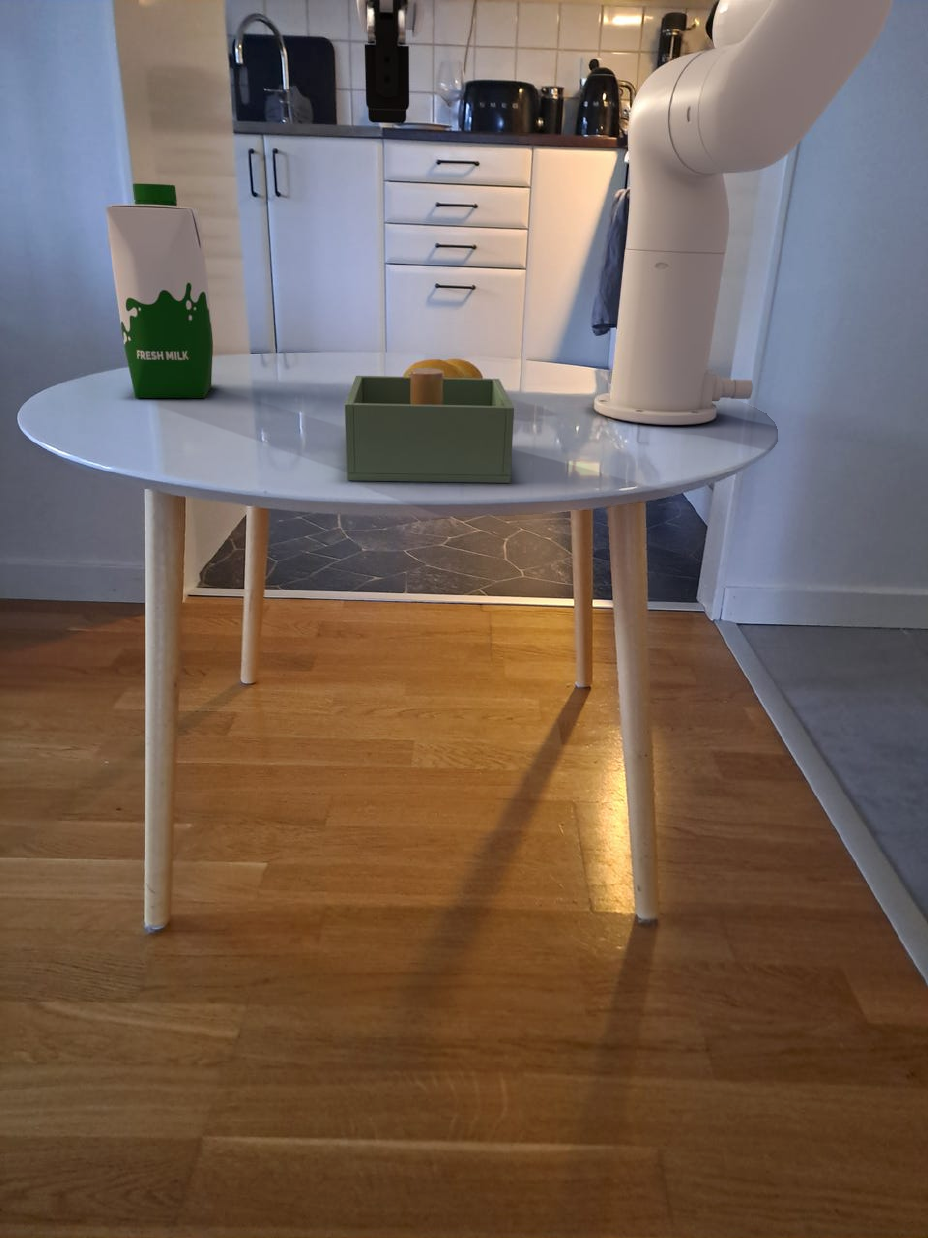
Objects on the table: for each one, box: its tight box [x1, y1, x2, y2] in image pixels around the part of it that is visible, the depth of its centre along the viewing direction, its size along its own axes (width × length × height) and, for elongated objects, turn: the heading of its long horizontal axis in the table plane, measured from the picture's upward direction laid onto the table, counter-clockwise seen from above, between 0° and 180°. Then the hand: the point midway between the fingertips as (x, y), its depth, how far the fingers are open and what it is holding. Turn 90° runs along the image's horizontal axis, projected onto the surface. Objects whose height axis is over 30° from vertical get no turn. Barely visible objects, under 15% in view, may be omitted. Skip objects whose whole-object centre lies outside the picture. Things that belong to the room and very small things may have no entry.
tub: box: [344, 375, 515, 484], centre depth 67 cm, size 12×12×6 cm
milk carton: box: [105, 182, 214, 399], centre depth 86 cm, size 9×9×20 cm
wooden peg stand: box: [410, 368, 444, 405], centre depth 66 cm, size 8×8×6 cm
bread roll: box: [402, 358, 484, 379], centre depth 93 cm, size 8×9×4 cm
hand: (387, 116), depth 67 cm, fingers open, 9 cm apart
